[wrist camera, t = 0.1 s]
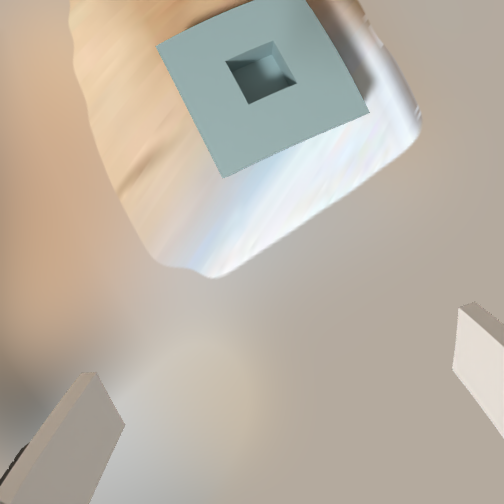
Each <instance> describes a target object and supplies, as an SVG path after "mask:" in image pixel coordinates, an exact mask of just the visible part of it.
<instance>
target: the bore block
mask: <svg viewBox="0 0 504 504" xmlns="http://www.w3.org/2000/svg"><path fill="white" fill-rule="evenodd" d="M156 48H157V50H158V52H159V54H160V56H161V58H162V60H163V62H164V64H165V66H166V68H167V70H168V71H169V73H170V75H171V77H172V79H173V81H174V83H175V85H176V87H177V89H178V91H179V93H180V95H181V97H182V99H183V101H184V103H185V105H186V107H187V109H188V111H189V113H190V115H191V117H192V119H193V121H194V123H195V125H196V127H197V128H198V130H199V132H200V134H201V136H202V138H203V140H204V142H205V144H206V146H207V148H208V150H209V152H210V154H211V156H212V158H213V160H214V162H215V164H216V166H217V168H218V170H219V172H220V174H221V176H222V178H225V177H228V176H230V175H232V174H234V173H236V172H238V171H240V170H242V169H244V168H247V167H249V166H251V165H253V164H255V163H257V162H259V161H261V160H263V159H265V158H268V157H270V156H272V155H274V154H276V153H278V152H280V151H283V150H285V149H287V148H289V147H291V146H294V145H296V144H298V143H300V142H303V141H305V140H307V139H309V138H312V137H314V136H316V135H319V134H321V133H323V132H326V131H328V130H330V129H333V128H335V127H338V126H340V125H342V124H345V123H347V122H350V121H352V120H355V119H357V118H359V117H361V116H363V115H366V114H368V113H370V112H369V110H368V108H367V106H366V104H365V102H364V100H363V98H362V96H361V94H360V92H359V90H358V88H357V86H356V84H355V82H354V80H353V79H352V77H351V75H350V73H349V71H348V69H347V67H346V66H345V64H344V62H343V60H342V58H341V57H340V55H339V53H338V51H337V50H336V48H335V46H334V44H333V43H332V41H331V39H330V38H329V36H328V34H327V33H326V31H325V30H324V28H323V26H322V25H321V23H320V22H319V20H318V19H317V17H316V15H315V14H314V12H313V11H312V9H311V8H310V6H309V5H308V3H307V2H306V0H254V1H251V2H248V3H246V4H243V5H241V6H238V7H236V8H233V9H231V10H228V11H226V12H224V13H221V14H219V15H217V16H214V17H212V18H210V19H208V20H206V21H204V22H201V23H199V24H197V25H195V26H193V27H191V28H189V29H187V30H185V31H183V32H181V33H179V34H177V35H175V36H173V37H172V38H170V39H168V40H166V41H164V42H162V43H161V44H159V45H157V46H156Z"/></svg>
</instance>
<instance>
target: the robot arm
mask: <svg viewBox="0 0 504 504" xmlns="http://www.w3.org/2000/svg"><path fill="white" fill-rule="evenodd" d="M452 370H453V371H454V373H455V374H456V375H457V376H458V378H459V379H460V380H461V381H462V383H463V384H464V385H465V387H467V389H468V391H469V392H470V393H471V394H472V396H473V397H474V398H475V400H476V401H477V402H478V403H479V405H480V406H481V408H482V409H483V410H484V412H485V413H486V415H487V416H488V417H489V418H490V420H491V421H492V423H493V424H494V426H495V427H496V428H497V430H498V431H499V433H500V434H501V435H502V437H503V438H504V324H503V323H502V322H500V321H499V320H497V318H495V317H494V316H493V315H492V314H490V313H489V312H488V311H486V310H485V309H484V308H482V307H481V306H480V305H479V304H477V303H476V302H473V303H471V304H467V305H464V306H461V307H459V311H458V324H457V335H456V344H455V353H454V360H453V368H452ZM124 427H125V423H124V422H123V420H122V418H121V416H120V415H119V413H118V411H117V409H116V408H115V406H114V404H113V402H112V400H111V399H110V397H109V395H108V393H107V391H106V389H105V387H104V385H103V383H102V382H101V380H100V378H99V376H98V374H97V372H87V373H81V374H80V375H79V377H78V378H77V379H76V381H75V382H74V383H73V384H72V386H71V387H70V388H69V390H68V391H67V392H66V394H65V395H64V396H63V398H62V399H61V400H60V402H59V403H58V404H57V406H56V407H55V409H54V410H53V411H52V412H51V414H50V415H49V417H48V418H47V419H46V421H45V422H44V423H43V425H42V426H41V428H40V429H39V430H38V432H37V433H36V434H35V436H34V437H33V439H32V440H31V442H29V443H28V444H27V445H26V446H25V447H24V448H22V449H21V450H20V452H19V453H18V454H17V456H16V457H15V459H14V462H12V463H11V464H10V466H9V470H8V469H7V471H6V472H5V473H4V475H3V476H2V478H1V479H0V504H89V503H90V501H91V498H92V496H93V494H94V491H95V489H96V487H97V485H98V482H99V480H100V478H101V476H102V474H103V471H104V469H105V467H106V465H107V463H108V461H109V459H110V456H111V454H112V452H113V450H114V448H115V446H116V444H117V441H118V439H119V437H120V435H121V433H122V431H123V429H124Z"/></svg>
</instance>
